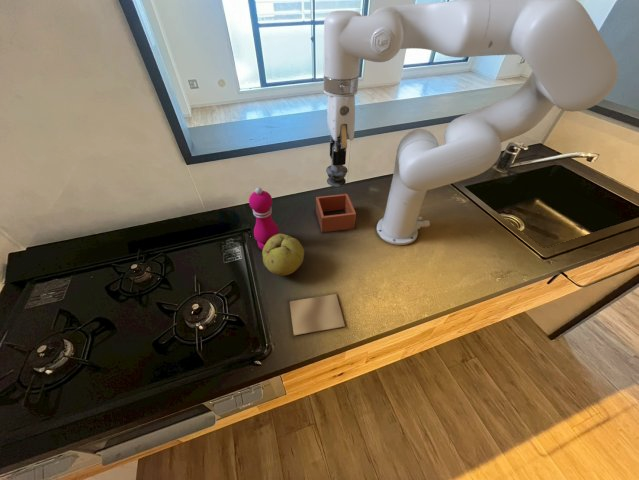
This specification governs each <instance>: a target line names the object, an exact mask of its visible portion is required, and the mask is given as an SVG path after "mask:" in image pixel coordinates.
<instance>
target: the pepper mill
mask: <svg viewBox="0 0 639 480" xmlns="http://www.w3.org/2000/svg"><path fill="white" fill-rule="evenodd" d="M248 205H249V207H250V208H251V210H252V213H253V216H254V217H255V225H254V228H253V237H254V239H255V240H256V242H257V243H256V244H257V247H258V248H259V249H260V250H262V251H263V248H264V246H265V244H266V242H267V241H268V240H269V239H270V238H271V237H272V236H274V235H277V234H280V230H279V227H278V224H277V223H276V222H275V221H274V220H273V217H272V213H273V209H272V206H273V198H272V195H271V194H270V193H269V192H268V191H266V190H263V188H262V187H259V186H258V187H256V188H255V190H254V191H253V192H252V193H251V194H250V196H249V198H248Z"/></svg>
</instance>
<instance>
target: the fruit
mask: <svg viewBox="0 0 639 480" xmlns="http://www.w3.org/2000/svg"><path fill="white" fill-rule="evenodd" d="M261 254H262V262H263V266H264V267H265V268H266V269H267V270H268V271H269V272H270V273H271V274H273V275H276V276H280V277H285V276H288V275H291V274H293V273H295V272H296V271H297V270H298V269H299V267H300V266H301V265H302V264H303V261H304V256H305V250H304V248H303V246H302V244H301V243H300V241H299V240H298V239H297V238H295V237H292V236H291V235H289V234H285V233H279V234H277V235H274V236H272V237H271V238H270V239H269V240H268V241H267V242H266V244H265V246H264V248H263V250H262V252H261Z"/></svg>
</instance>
